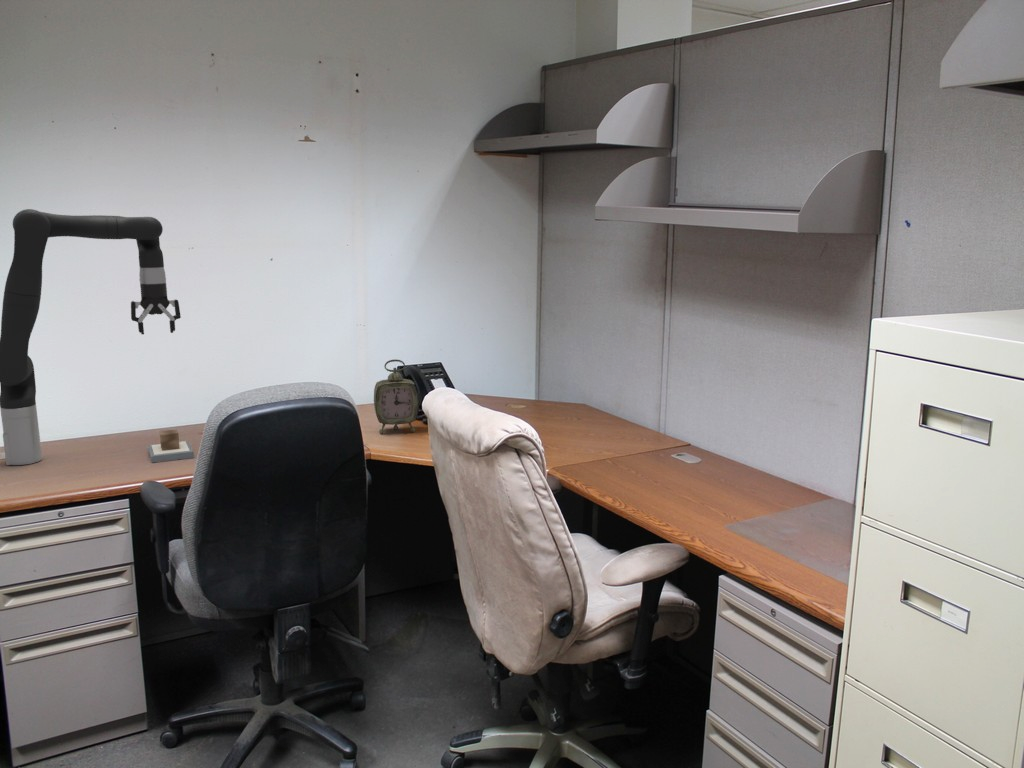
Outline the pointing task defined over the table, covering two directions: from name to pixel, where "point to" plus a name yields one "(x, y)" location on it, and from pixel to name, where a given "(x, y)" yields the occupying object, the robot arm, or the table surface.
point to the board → (170, 452)
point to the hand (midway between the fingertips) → (157, 333)
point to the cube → (169, 440)
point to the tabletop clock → (395, 400)
